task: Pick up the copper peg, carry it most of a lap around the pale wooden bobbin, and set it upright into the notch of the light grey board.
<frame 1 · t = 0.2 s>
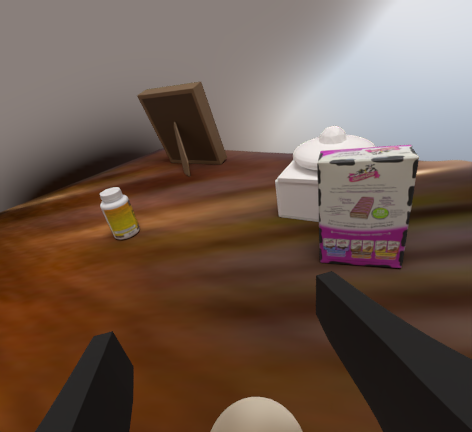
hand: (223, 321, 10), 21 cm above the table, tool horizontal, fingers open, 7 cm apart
supplement bottle: (128, 234, 60), on the table
butter dish: (333, 202, 58), on the table
photo frame: (189, 167, 93), on the table
candy bar box: (357, 256, 42), on the table
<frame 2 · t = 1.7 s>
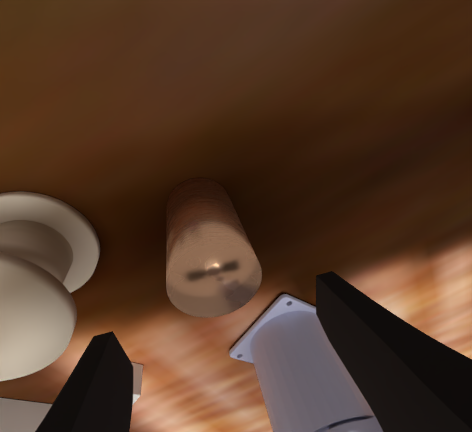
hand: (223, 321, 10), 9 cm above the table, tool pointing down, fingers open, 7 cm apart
notched board: (31, 382, 22), on the table
bobbin: (35, 245, 16), on the table
copper peg: (199, 207, 17), on the table
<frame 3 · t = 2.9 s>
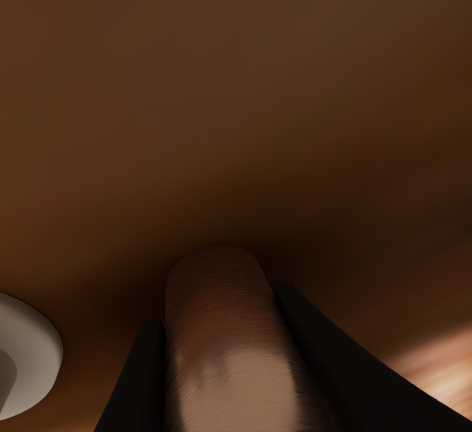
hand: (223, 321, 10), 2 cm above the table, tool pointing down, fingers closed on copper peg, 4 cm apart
copper peg: (215, 283, 11), on the table, touching gripper
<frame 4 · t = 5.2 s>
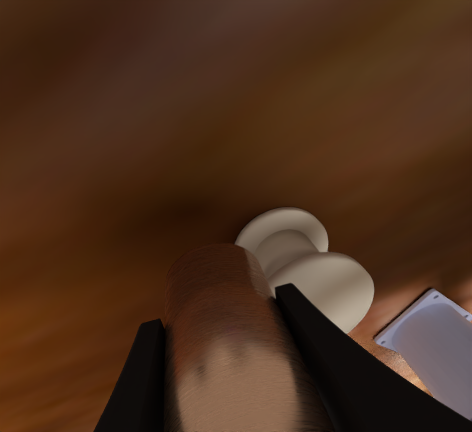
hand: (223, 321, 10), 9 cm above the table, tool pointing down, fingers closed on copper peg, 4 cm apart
bobbin: (278, 249, 20), on the table
copper peg: (215, 282, 11), point 7 cm above the table, touching gripper
when the fingers open (4 cm above the table, at t = 7.8 s): copper peg drops 2 cm, on the table.
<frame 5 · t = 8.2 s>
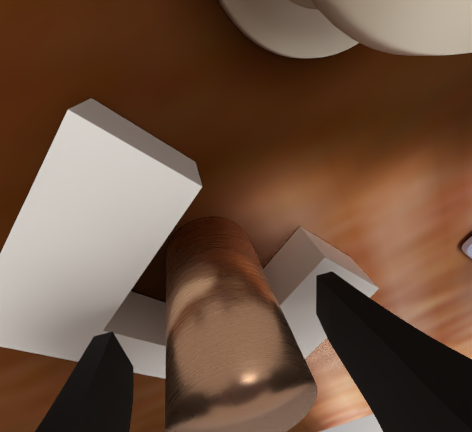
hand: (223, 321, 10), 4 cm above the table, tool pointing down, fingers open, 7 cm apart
notched board: (197, 270, 13), on the table
copper peg: (209, 253, 13), on the table
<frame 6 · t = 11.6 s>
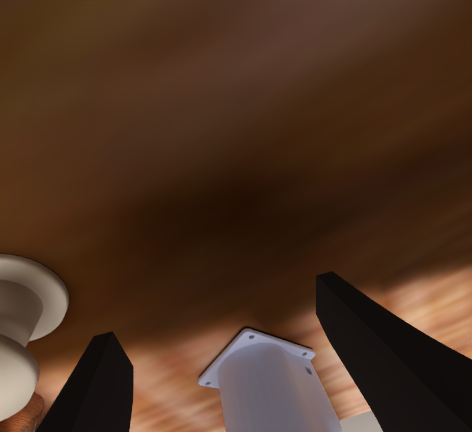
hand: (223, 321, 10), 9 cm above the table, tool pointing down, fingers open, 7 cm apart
bobbin: (9, 297, 18), on the table
copper peg: (16, 403, 23), on the table
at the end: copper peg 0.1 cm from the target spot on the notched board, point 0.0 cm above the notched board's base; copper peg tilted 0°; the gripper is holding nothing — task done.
